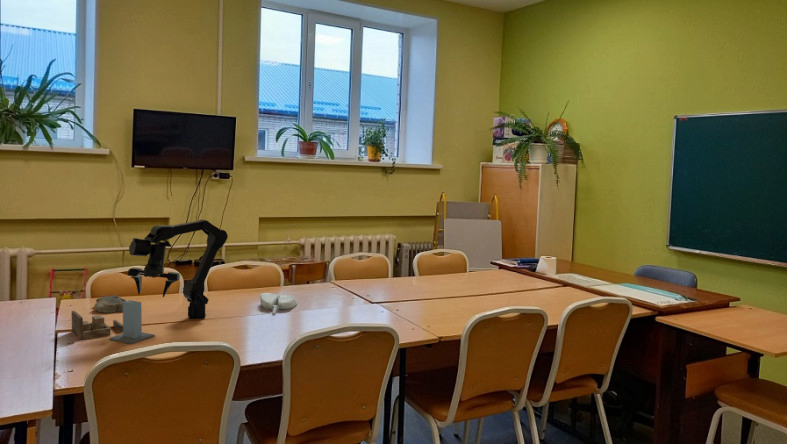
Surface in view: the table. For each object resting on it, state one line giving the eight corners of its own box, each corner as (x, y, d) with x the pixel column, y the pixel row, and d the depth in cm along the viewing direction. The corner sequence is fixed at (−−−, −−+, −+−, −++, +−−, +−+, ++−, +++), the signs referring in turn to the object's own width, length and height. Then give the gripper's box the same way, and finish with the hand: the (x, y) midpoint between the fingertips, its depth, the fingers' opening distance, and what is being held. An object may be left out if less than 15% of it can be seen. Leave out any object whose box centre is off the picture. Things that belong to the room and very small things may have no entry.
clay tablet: (93, 304, 262) (94, 314, 245) (93, 293, 262) (95, 302, 245) (127, 302, 269) (131, 312, 252) (127, 292, 269) (131, 301, 252)
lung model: (297, 301, 280) (294, 320, 256) (261, 302, 278) (254, 320, 254) (297, 288, 279) (294, 306, 254) (261, 288, 277) (254, 306, 253)
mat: (133, 332, 222) (133, 330, 222) (155, 336, 218) (155, 334, 218) (109, 339, 212) (109, 337, 212) (131, 344, 208) (131, 342, 208)
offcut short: (87, 332, 220) (86, 320, 220) (90, 335, 216) (90, 323, 216) (78, 333, 218) (78, 322, 218) (81, 336, 214) (81, 325, 214)
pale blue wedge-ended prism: (129, 334, 218) (129, 300, 216) (141, 336, 215) (141, 302, 214) (123, 336, 215) (122, 301, 214) (135, 338, 212) (134, 303, 211)
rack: (115, 325, 230) (114, 305, 229) (124, 332, 221) (124, 312, 220) (71, 331, 220) (71, 311, 219) (80, 339, 211) (79, 318, 210)
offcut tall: (100, 330, 223) (100, 314, 223) (104, 333, 220) (104, 317, 219) (92, 331, 221) (92, 316, 221) (95, 334, 218) (95, 319, 217)
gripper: (126, 255, 222) (120, 295, 222) (176, 261, 225) (171, 301, 225) (134, 253, 233) (128, 291, 233) (182, 259, 236) (177, 297, 236)
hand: (151, 295), depth 231 cm, fingers open, 9 cm apart
